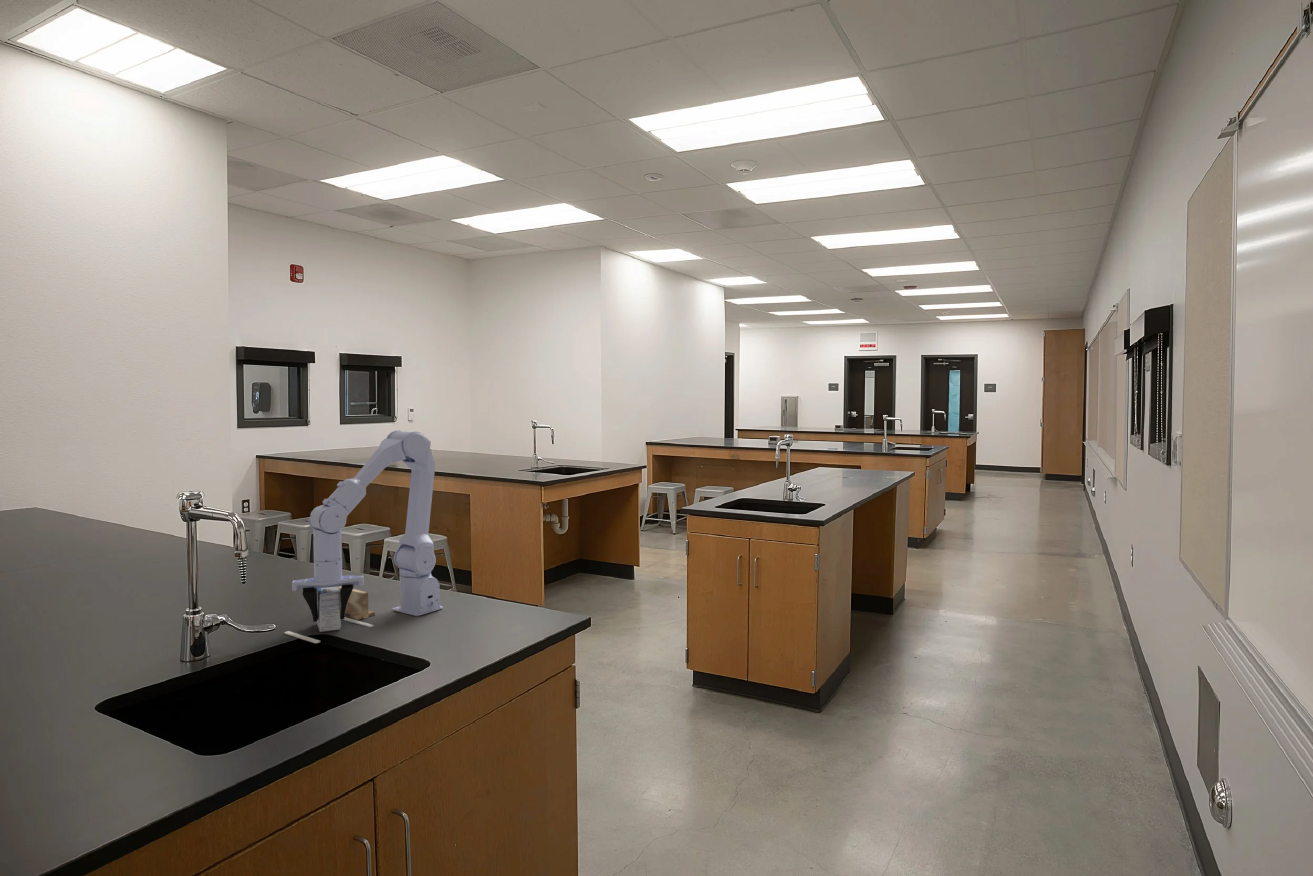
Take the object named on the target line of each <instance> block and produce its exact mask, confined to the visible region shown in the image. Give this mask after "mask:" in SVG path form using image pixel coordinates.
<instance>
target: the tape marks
mask: <svg viewBox="0 0 1313 876" xmlns="http://www.w3.org/2000/svg"><path fill="white" fill-rule="evenodd" d="M341 621H345V622H349V623H352V624H355V625H360V626H363V627H366V628H373V627H374V624H371V623H368V622H364V621H360V620H353V619H350V617H346V616H345V618H344V619H341ZM283 633H284V634H285V635H288V636H290V637H294V638H298V639H300V640H303V641H307V642H310V643H313V644H319V643H321V640H319V639H316V638H313V637H309V636H306V635H302V634H300V633H297V632H293V631H290V630H287V631H284V632H283Z"/></svg>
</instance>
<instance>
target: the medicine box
mask: <svg viewBox="0 0 1313 876" xmlns="http://www.w3.org/2000/svg"><path fill="white" fill-rule="evenodd" d="M317 608H318V620H317V622H315V623H316V626H317V628H318V631H319V633H320V632H323V633H324V632H333V631H340V630H341V628H342V627H341V625H342V623H341V622H342V620H341V595H340V590H339V589H338V587H328V588H317Z"/></svg>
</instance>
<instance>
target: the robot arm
mask: <svg viewBox="0 0 1313 876" xmlns="http://www.w3.org/2000/svg"><path fill="white" fill-rule="evenodd" d="M386 436H387V437H386V438H384V439H383V440H382V441H381V442H380V443H379V446H378V448H377V449H376V450H375V451H374V453H373V454H372V455H371V456H370V457H369V459H367V461H366V462H365V464H364V465H363V466H362V467H361V469H359V471H358V472H357V474H356V475H355V476H354V477H352V478H346V479H344V480H343V481H339V482H338V483H337V484H336V486H337V488H336V489H335V490H334V491H333V492H332V493H331V494H330V496H329V497H328V498H324V499H323V501H322V505H319V506H316V507H314V508H313V510H312V511H311V512H310V514H309V515H310V516H309V518H307V523H308V525H309V526H310V528H311V529H312V531H313V532H312V533H313V534H312V536H313V541H312V542H313V574H314V576H313V577H311V578H304V579H296V580H294V579H293V580H292V581H291V591H292V592H296V591H299V590H302V596H303V598H304V600H305V601H306V604H307V605H308V607H309V610H310V612H311V616H312V621H313V622H314V623H316V622H317V620H318V608H317V588H328V587H341V586H342V587H341V589H340V595H341V619H344V618H345V617H346V614H345V611H346V606H347V602H348V599H349V597H350V595H351V592H352V590H353V589H354V587H355V586H357V587H360V586H361V587H363V586H364V583H365V581H364V580H365V579H364V577H365V576H364V575H343V550H342V546H343V545H342V542H343V541H342V529H343V528H345V526H346V524H347V519H348V516H349V514H351V512H352V511H353V510H354V509H355V508H356V507H357V506H358V504H360V502H361V501H362V500H363V499H364V498H365V496H366V495H367V487H368V486H369V485H370V484H371V483H372V482H373V481H374V480H375V479H376V477H378V476H379V474H381V472H383V471H384V470H385V469H386V468H387V467H388V466H389V465H390V464H391V463H395V462H401V461H403V463H404V464H405V465H406V466H407V467H408V468H409V469H410V470H411V473H410V482H409V492H408V503H407V512H406V523H405V533H404V534H403V535H402V536H401V538H400V539H399V541H398V546H397V549H396V551H395V553H394V555H393V562H394V564H395V566H396V567H397V568H398V569H399V606H397V607H396V606H395V607H392V611H395V612H397V613H403V614H406V615H409V616H410V615H411V616H415V617H419V616H422V615H426V614H429V613H432V612H435V611H439V610H442V609H443V608H444V607H443V606H442V605H441V590H440V589H441V588H440V585H441V584H440V582H439V580H438V579H437V578H436V577H434V576H433V575H432V571H433V570H434V567H436V563H437V562H436V561H437V557H436V554H435V551H434V550H435V547H434V546H435V544H434V542H433V540H432V539H431V537H430V535H429V534H430V533H429V531H430V523H431V522H430V521H431V520H430V519H431V512H432V511H431V510H432V502H433V501H432V499H433V493H434V481H435V472H436V471H435V470H436V462H435V458H434V456H433V452H432V450H431V441H430V439H428V437H427V436H425V434H424V433H422V432H420V431H416V430H415V431H401V430H394V431H391V432H389V434H388V435H386Z"/></svg>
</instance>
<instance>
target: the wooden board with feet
mask: <svg viewBox="0 0 1313 876" xmlns="http://www.w3.org/2000/svg"><path fill="white" fill-rule="evenodd" d="M341 587H342V586H341ZM341 587H338V589H339V590H340V589H341ZM345 615H349V618H350V619H353V620H357V621H360V620H363V619H368V618H369V617H373V616H376V613H375V611H373V610H369V592H367V591H363V590H360V589H355V588H353V590H352V592H351V595H350V597H349V599H348V602H347V606H346V611H345Z"/></svg>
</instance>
